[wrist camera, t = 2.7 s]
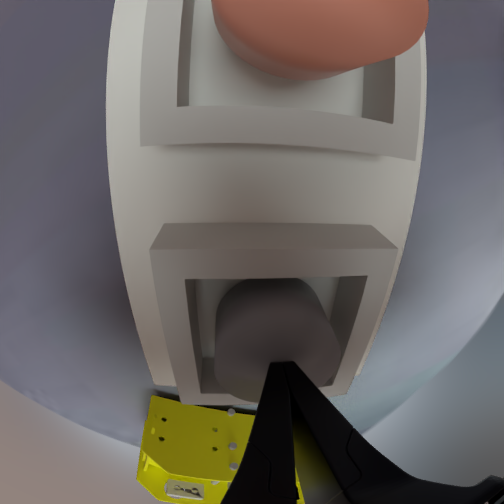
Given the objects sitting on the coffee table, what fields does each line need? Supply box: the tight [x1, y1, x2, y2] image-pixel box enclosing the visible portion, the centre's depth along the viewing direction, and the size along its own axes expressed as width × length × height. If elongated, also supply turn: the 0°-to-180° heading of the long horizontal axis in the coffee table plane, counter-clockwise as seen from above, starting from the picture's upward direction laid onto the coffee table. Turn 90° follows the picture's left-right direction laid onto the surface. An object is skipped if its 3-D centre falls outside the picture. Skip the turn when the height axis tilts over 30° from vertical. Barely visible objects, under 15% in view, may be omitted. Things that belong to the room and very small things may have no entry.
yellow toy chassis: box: [136, 395, 305, 504], centre depth 18 cm, size 16×6×8 cm, turn 68°
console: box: [106, 0, 427, 405], centre depth 10 cm, size 12×22×5 cm, turn 178°
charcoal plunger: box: [214, 278, 341, 403], centre depth 10 cm, size 4×4×3 cm
